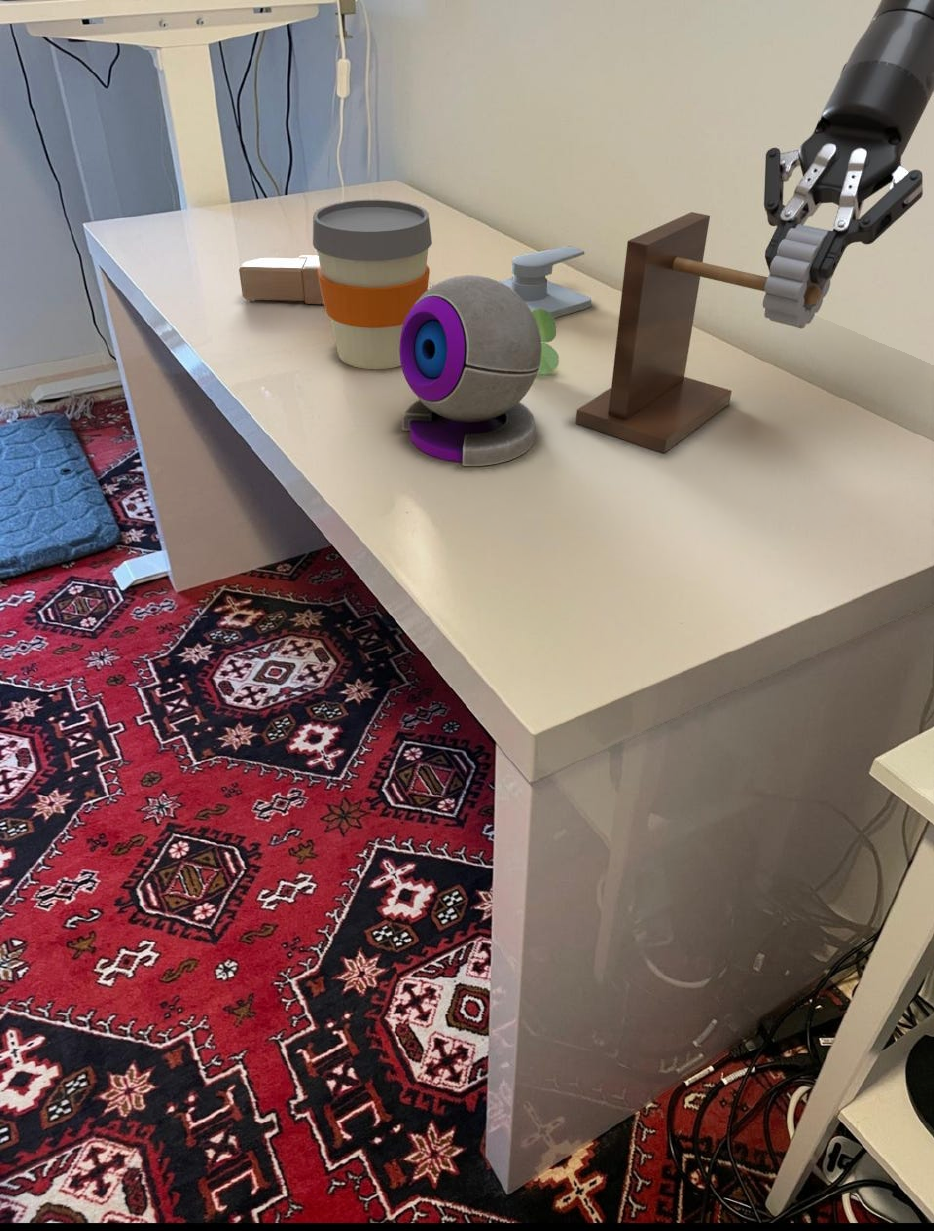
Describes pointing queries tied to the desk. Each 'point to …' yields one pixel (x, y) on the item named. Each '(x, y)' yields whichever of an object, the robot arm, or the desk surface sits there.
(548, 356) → the seedling
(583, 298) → the shower valve
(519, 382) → the webcam
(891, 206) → the robot arm
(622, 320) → the rack
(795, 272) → the grey scalloped ring
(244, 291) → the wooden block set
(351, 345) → the reusable coffee cup
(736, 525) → the desk surface
